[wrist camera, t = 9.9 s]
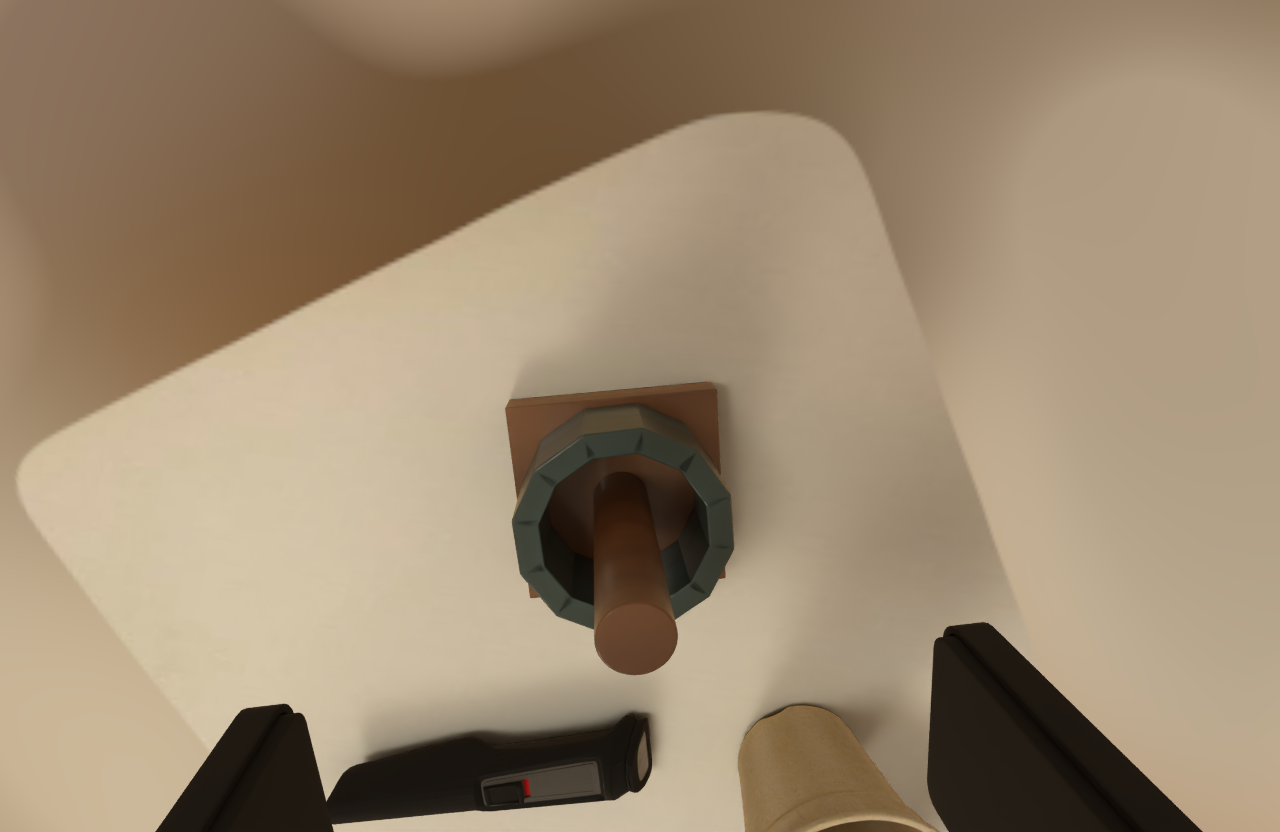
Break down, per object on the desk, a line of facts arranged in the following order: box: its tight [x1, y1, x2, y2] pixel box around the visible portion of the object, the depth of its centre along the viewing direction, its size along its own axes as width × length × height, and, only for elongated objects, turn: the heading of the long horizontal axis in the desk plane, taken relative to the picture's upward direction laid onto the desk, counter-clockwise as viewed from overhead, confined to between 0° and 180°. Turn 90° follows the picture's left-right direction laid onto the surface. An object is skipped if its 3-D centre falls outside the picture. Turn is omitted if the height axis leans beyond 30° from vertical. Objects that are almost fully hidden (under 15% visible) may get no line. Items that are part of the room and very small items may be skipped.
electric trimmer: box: [326, 714, 652, 824], centre depth 34 cm, size 4×16×3 cm, turn 95°
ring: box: [512, 403, 734, 629], centre depth 28 cm, size 8×8×4 cm
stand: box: [505, 382, 726, 675], centre depth 26 cm, size 9×9×12 cm
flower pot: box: [738, 706, 939, 832], centre depth 32 cm, size 9×9×9 cm
